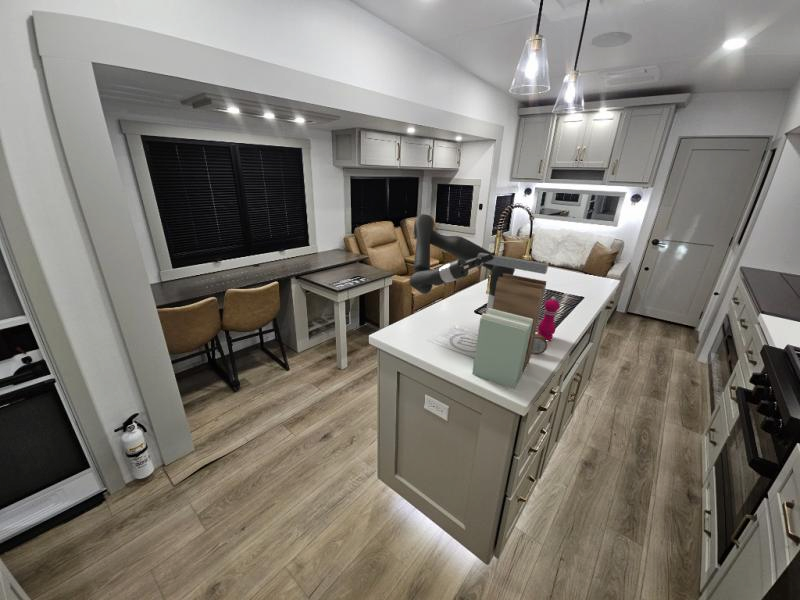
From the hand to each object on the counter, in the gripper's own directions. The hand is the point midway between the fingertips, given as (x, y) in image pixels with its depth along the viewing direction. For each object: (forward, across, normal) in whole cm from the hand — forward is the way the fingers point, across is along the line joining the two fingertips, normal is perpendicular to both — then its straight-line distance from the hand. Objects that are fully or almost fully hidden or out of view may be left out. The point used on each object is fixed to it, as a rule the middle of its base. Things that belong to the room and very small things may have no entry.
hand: (493, 255), depth 116 cm
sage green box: (-10, -13, +40) cm, 43 cm away
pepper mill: (-3, +31, +45) cm, 54 cm away
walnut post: (-10, 0, +40) cm, 41 cm away
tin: (-6, +12, +43) cm, 45 cm away
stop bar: (+4, 0, +6) cm, 7 cm away
